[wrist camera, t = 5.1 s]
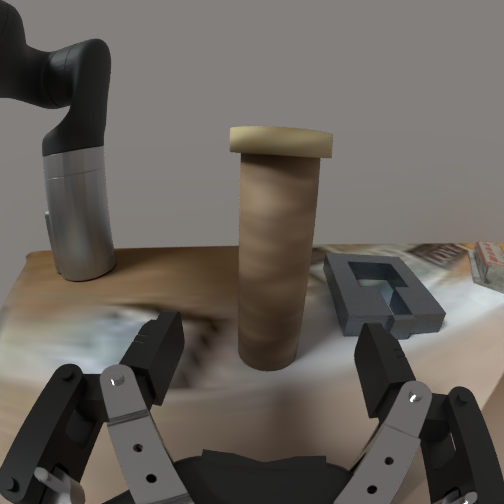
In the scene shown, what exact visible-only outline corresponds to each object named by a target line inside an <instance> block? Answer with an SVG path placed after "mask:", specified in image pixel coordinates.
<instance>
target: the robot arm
mask: <svg viewBox="0 0 504 504" xmlns="http://www.w3.org/2000/svg"><path fill="white" fill-rule="evenodd" d="M110 74H111V56H110V52H109V48H108V46H107V45H106V43H105V42H104V41H102V40H101V39H90V40H87V41H84V42H80V43H77V44H74V45H71V46H68V47H65V48H63V49H60V50H58V51H53V52H44V51H40V50H37V49H34V48H32V47H30V46H28V45H27V44H26V40H25V33H24V27H23V23H22V19H21V17H20V15H19V13H18V12H17V10H16V9H15V8H14V7H13V6H12V5H10V4H8V3H6V2H4V1H2V0H0V98H12V99H16V100H20V101H23V102H27V103H30V104H33V105H36V106H39V107H42V108H47V109H58V108H62V107H66V106H70V109H69V112H68V113H67V115H66V116H65V118H64V119H63V120H62V121H61V123H60V124H59V125H57V126H56V127H55V128H54V129H53V130H51V131H50V132H49V133H48V134H47V135H46V136H45V137H44V139H43V142H42V153H43V169H44V179H45V189H46V198H47V205H48V210H47V211H46V212H45V219H46V225H47V230H48V235H49V240H50V244H51V249H52V254H53V258H54V262H55V266H56V269H57V273H61V274H62V276H63V277H64V278H65V279H67V280H71V281H83V280H89V279H93V278H96V277H99V276H101V275H103V274H105V273H107V272H108V271H110V270H111V269H112V268H113V267H114V266H115V264H116V258H115V252H114V247H113V240H112V233H111V227H110V220H109V210H108V201H107V193H106V179H105V167H104V166H105V165H104V147H103V145H104V131H105V126H106V113H107V98H108V90H109V82H110ZM184 343H185V339H184V332H183V326H182V319H181V314H180V312H177V311H168V310H162V311H161V313H160V315H159V316H158V318H157V320H152V319H151V320H150V321H148V322H147V323H146V324H144V325H143V326H142V328H141V329H140V331H139V332H138V335H136V337H135V339H134V342H132V343H131V345H130V347H129V348H128V350H127V352H126V353H125V355H124V356H123V358H122V360H121V361H120V363H119V364H117V365H112V366H110V367H108V368H106V369H105V370H104V371H103V372H102V374H83V372H82V370H81V369H80V367H79V366H77V365H75V364H65V365H62V366H61V367H59V368H58V369H57V370H56V371H55V372H54V374H53V375H52V377H51V378H50V380H49V382H48V383H47V385H46V386H45V388H44V389H43V391H42V393H41V394H40V396H39V397H38V399H37V401H36V402H35V404H34V406H33V407H32V409H31V411H30V413H29V414H28V416H27V418H26V419H25V421H24V423H23V425H22V427H21V428H20V430H19V432H18V434H17V436H16V438H15V440H14V442H13V444H12V446H11V448H10V450H9V452H8V454H7V456H6V458H5V460H4V462H3V464H2V466H1V469H0V493H1V495H2V496H3V497H4V498H5V499H7V500H8V501H10V502H12V503H13V504H84V503H85V493H84V490H83V488H82V486H81V485H80V481H81V478H82V475H83V473H84V470H85V467H86V465H87V462H88V459H89V457H90V454H91V452H92V449H93V447H94V444H95V442H96V439H97V437H98V434H99V432H100V429H101V427H102V425H103V422H107V427H108V431H109V434H110V437H111V441H112V444H113V447H114V450H115V453H116V456H117V459H118V462H119V464H120V467H121V470H122V472H123V475H124V478H125V480H126V483H127V485H128V487H129V490H127V491H125V492H124V493H122V494H120V495H118V496H116V497H114V498H112V499H110V500H108V501H106V502H104V503H102V504H390V503H391V501H392V499H393V497H394V496H395V494H396V492H397V490H398V489H399V487H400V485H401V483H402V481H403V479H404V477H405V475H406V473H407V471H408V469H409V467H410V465H411V463H412V461H413V458H414V456H415V454H416V452H417V449H418V447H419V445H421V450H422V454H423V459H424V464H425V469H426V475H427V480H428V487H429V493H430V500H431V504H504V480H503V476H502V473H501V469H500V465H499V462H498V458H497V455H496V452H495V449H494V446H493V443H492V440H491V437H490V434H489V432H488V429H487V426H486V423H485V421H484V418H483V416H482V413H481V411H480V409H479V406H478V404H477V402H476V399H475V397H474V395H473V393H472V392H471V391H470V390H469V389H467V388H465V387H461V386H458V387H455V388H453V389H452V390H451V391H450V392H449V394H448V395H444V394H435V393H431V391H430V389H429V388H428V386H426V385H425V384H424V383H422V382H419V381H416V379H415V376H414V374H413V372H412V370H411V367H410V365H409V363H408V361H407V358H406V357H405V354H404V352H403V351H402V348H401V346H400V344H399V342H398V340H397V339H396V338H395V337H394V336H393V335H392V334H391V333H386V332H385V329H384V327H383V325H382V324H381V323H380V322H379V323H364V324H363V326H362V329H361V332H360V335H359V338H358V342H357V345H356V348H355V352H354V360H355V364H356V368H357V372H358V375H359V379H360V383H361V387H362V391H363V395H364V399H365V403H366V407H367V412H368V416H369V418H377V417H378V419H379V423H378V425H377V426H376V428H375V430H374V431H373V433H372V435H371V437H370V438H369V440H368V441H367V443H366V445H365V446H364V448H363V449H362V451H361V452H360V454H359V455H358V457H357V458H356V460H355V461H354V462H353V464H352V465H351V466H350V467H349V469H348V470H347V469H345V468H343V467H341V466H338V465H335V464H331V463H326V456H305V457H292V458H288V459H283V460H277V461H272V462H260V461H256V460H253V459H249V458H246V457H243V456H240V455H237V454H233V453H226V452H218V451H211V450H205V449H203V452H202V456H195V457H189V458H185V459H182V460H179V461H176V462H174V461H173V459H172V457H171V455H170V453H169V451H168V449H167V448H166V446H165V444H164V442H163V439H162V437H161V435H160V433H159V431H158V429H157V426H156V424H155V422H154V420H153V417H152V415H151V413H150V409H151V407H152V404H154V405H158V406H161V405H162V403H163V400H164V398H165V395H166V393H167V390H168V388H169V385H170V382H171V380H172V377H173V375H174V372H175V370H176V367H177V365H178V362H179V360H180V357H181V355H182V353H183V350H184ZM450 434H452V437H453V440H454V444H455V447H456V451H455V449H454V445H453V442H452V438H451V435H450Z"/></svg>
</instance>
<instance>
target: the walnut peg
mask: <svg viewBox="0 0 504 504" xmlns="http://www.w3.org/2000/svg"><path fill="white" fill-rule="evenodd" d="M332 143H333V134H331V133H327V132H322V131H316V130H308V129H299V128H287V127H266V126H263V127H262V126H252V127H251V126H250V127H249V126H247V127H232V128H230V152H236V153H241V170H240V221H239V309H238V352H239V356H240V358H241V359H242V361H243V362H244V363H246V364H247V365H248V366H250V367H252V368H254V369H258V370H262V371H275V370H279V369H282V368H285V367H287V366H288V365H289V364H291V363H292V362H293V360H294V358H295V356H296V351H297V345H298V340H299V334H300V328H301V322H302V316H303V310H304V303H305V296H306V290H307V283H308V276H309V268H310V260H311V252H312V244H313V235H314V226H315V217H316V206H317V195H318V184H319V170H320V158H331V157H332Z"/></svg>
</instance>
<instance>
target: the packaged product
mask: <svg viewBox="0 0 504 504" xmlns="http://www.w3.org/2000/svg"><path fill="white" fill-rule="evenodd" d="M468 255H469V260H470V268H471V271H472V277H473V282H474V283H476V284H478V285H481V286H484V287H487V288H490V289H492V290H495V291H498V292H501V293H503V294H504V252H503V250H502V248H501V247H500V246H499V245H498V244H497V243H494V242H486V241H485V242H483V241H481V242H477V243H476V244H475V250H470V249H469V248H468Z"/></svg>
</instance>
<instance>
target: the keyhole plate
mask: <svg viewBox="0 0 504 504" xmlns="http://www.w3.org/2000/svg"><path fill="white" fill-rule="evenodd" d="M323 270H324V273H325V276H326V279H327V282H328V285H329V289H330V292H331V295H332V298H333V302H334V305H335V308H336V312H337V315H338V318H339V322H340V325H341V329H342V332H343V336H359V335H360V332H361V329H362V326H363V324H364V323H379V322H380V323H381V324H382V325H383V327H384V329H385V332H386V333H391V334H392V335H393V336H394V337H395V338H396V339H397V340H399V339H408V337H409V334H419V333H432V332H438V331H439V329H440V326H441V324H442V322H443V320H444V317H445V315H446V312H445V311H444V310H443V308H442V307H441V306H440V305H439V303H438V302H437V301H436V300H435V298H434V297H433V296H432V295H431V293H430V292H429V291H428V290H427V289H426V287H425V286H424V285H423V284H422V283H421V281H420V280H419V279H418V278H417V277H416V276H415V274H414V273H413V272H412V271H411V270H410V269H409V268H408V266H407V265H406V264H405V263H404V262H403V261H402V260H401V259H400V258H399V257H389V256H372V255H355V254H338V253H325V261H324V267H323ZM356 279H376V280H387V281H388V283H389V284H390V286H391V287H392V289H393V290H394V291H393V294H392V298H391V301H390V304H389V306H390V308H391V310H392V311H393V313H394V315H392V313H391V311H390V310H389V308H388V306H387V304H386V302H385V301H384V299H383V297H382V296H381V294H380V292H379V290H378V289H377V287H368V286H359V284H358V282H357V280H356Z"/></svg>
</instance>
